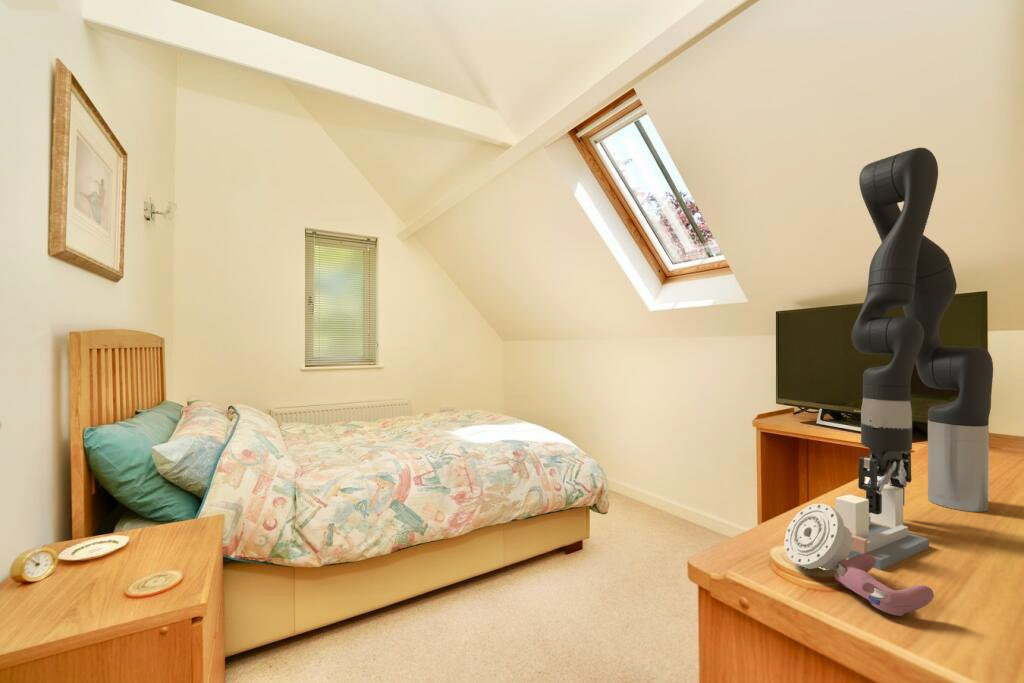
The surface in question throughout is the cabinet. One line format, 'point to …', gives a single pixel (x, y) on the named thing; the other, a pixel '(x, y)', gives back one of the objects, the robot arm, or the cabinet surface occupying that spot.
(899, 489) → the cream block
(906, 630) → the cabinet surface
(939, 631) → the cabinet surface
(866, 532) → the rail mount
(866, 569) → the pink curved lobed piece
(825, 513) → the mechanical component
